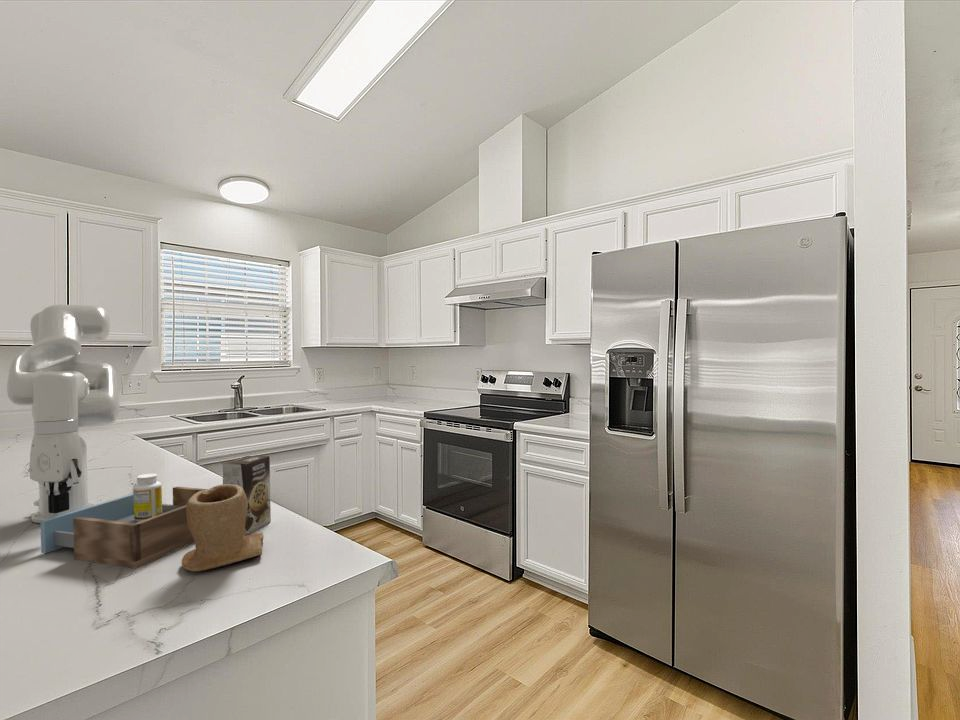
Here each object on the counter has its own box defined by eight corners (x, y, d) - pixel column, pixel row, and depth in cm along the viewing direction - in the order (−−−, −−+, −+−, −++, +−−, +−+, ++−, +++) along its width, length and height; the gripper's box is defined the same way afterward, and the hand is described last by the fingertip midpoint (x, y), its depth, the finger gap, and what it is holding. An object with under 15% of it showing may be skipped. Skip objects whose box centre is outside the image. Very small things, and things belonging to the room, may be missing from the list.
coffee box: (247, 535, 113) (246, 463, 112) (222, 533, 114) (220, 462, 113) (272, 521, 121) (270, 455, 121) (248, 520, 123) (247, 454, 122)
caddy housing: (74, 559, 101) (73, 518, 100) (177, 519, 124) (176, 486, 123) (135, 568, 96) (134, 525, 96) (230, 525, 119) (229, 491, 119)
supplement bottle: (157, 513, 122) (156, 471, 122) (166, 518, 118) (164, 474, 118) (130, 519, 118) (129, 476, 117) (138, 524, 114) (137, 479, 114)
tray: (41, 552, 103) (40, 520, 103) (148, 515, 126) (147, 489, 126) (99, 561, 99) (98, 528, 99) (199, 520, 122) (198, 493, 122)
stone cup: (185, 584, 89) (183, 500, 89) (179, 561, 99) (177, 486, 99) (275, 562, 98) (273, 486, 98) (261, 543, 108) (260, 474, 107)
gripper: (13, 430, 109) (15, 514, 109) (62, 431, 105) (65, 518, 105) (51, 425, 116) (53, 505, 116) (99, 426, 112) (101, 508, 112)
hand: (59, 511), depth 111 cm, fingers closed
